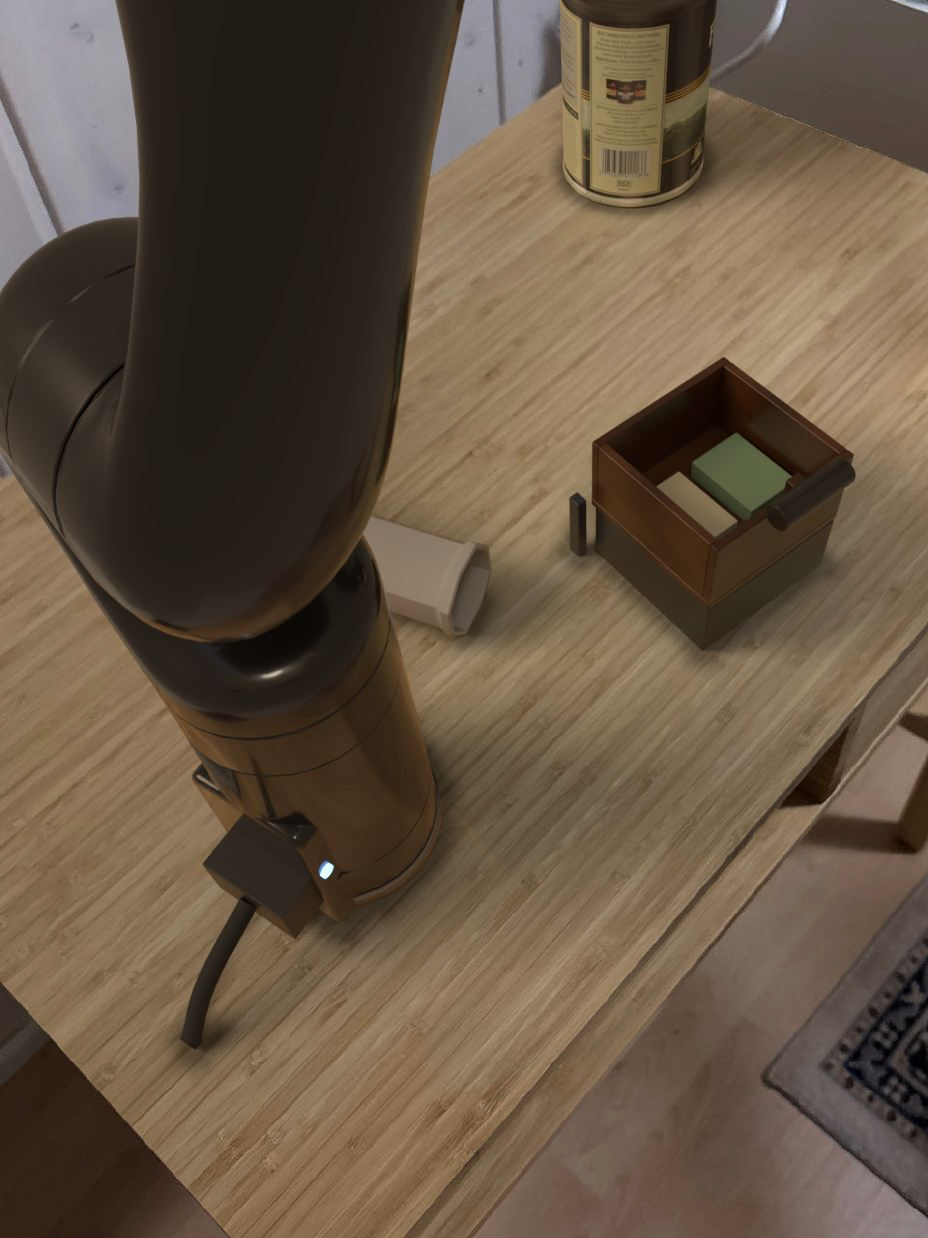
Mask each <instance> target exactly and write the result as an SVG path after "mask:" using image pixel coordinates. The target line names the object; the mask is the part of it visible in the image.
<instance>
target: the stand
mask: <svg viewBox="0 0 928 1238" xmlns="http://www.w3.org/2000/svg"><path fill="white" fill-rule="evenodd" d="M568 507H569V508H568V509H569V511H568V512H569V548H570V550H571V551H572V552H573V553H574V554H575V555H576V556H577V557H580V556H583V554H585V553H586V552H587V550H588V549H587V548H588V547H587V545H588V543H587V541H588V540H587V499H586V498H584V497H583V496H582V494H580V493H579V492H575V493H573V494H572V495H571V496H569V498H568ZM833 524H834V519H833V520H832V521H831V522H829V523H828V524H827V525H825V526H824V527H822V528H821V529H820V530H818V531H817V532H816V533H814V534H813V535H811V536H810V537H809V538H807V539H806V540H805V541H803V542H802V543H800V544H799V545H798V546H796V547H795V548H794V549H792V550H791V551H789V552H788V553H787V554H785V555H784V556H783V557H781V558H780V559H778V560H777V561H776V562H774V563H773V564H771V565H770V566H769V567H767V568H766V569H765V570H763V571H762V572H760V573H759V574H758V575H756V576H755V577H754V578H752V579H751V580H749V581H748V582H747V583H745V584H744V585H743V586H741V587H740V588H738V589H737V590H736V591H734V592H733V593H732V594H730V595H729V596H727V597H726V598H725V599H723V600H722V601H721V602H719V603H718V604H716V605H715V606H714V607H712V608H711V609H710V610H707V609H706V608H705V607H704V606H703V605H702V604H701V603H700V602H699V601H697V600H696V599H695V598H694V597H693V596H692V595H691V594H690V593H689V592H688V591H686V590H685V589H684V588H683V587H682V586H681V585H680V584H679V583H678V582H677V581H675V580H674V579H673V578H672V577H671V576H670V575H669V574H668V573H667V572H666V571H665V570H663V569H662V568H661V567H660V566H659V565H658V564H657V563H656V562H655V561H654V560H652V559H651V558H650V557H649V556H648V555H647V554H646V553H645V552H644V551H643V550H641V549H640V548H639V547H638V546H637V545H636V544H635V543H634V542H633V541H632V540H630V539H629V538H628V537H627V536H626V535H625V534H624V533H623V532H622V531H621V530H619V529H618V528H617V527H616V526H615V525H614V524H613V523H612V522H611V521H610V520H609V519H607V518H606V517H605V516H604V515H603V514H602V513H601V512H600V511H599V510H598V509H596V508H595V533H594V535H595V538H594V539H595V540H594V542H595V543H594V544H595V545H594V546H595V548H594V549H595V551H596V552H597V553H598V554H599V555H600V556H601V557H602V558H603V559H604V560H605V561H606V562H608V563H609V564H610V565H611V567H613V569H615V570H616V571H617V572H618V573H619V574H620V575H621V576H622V577H623V578H624V579H626V580H627V581H628V582H629V583H630V584H631V585H632V586H633V587H634V588H635V589H636V590H638V591H639V593H640V594H642V595H643V596H644V597H645V598H646V599H647V600H648V602H651V604H653V606H655V607H656V609H658V610H659V611H660V612H661V613H662V614H663V615H664V616H665V617H666V618H667V619H668V620H669V621H670V622H672V623H673V625H675V626H676V627H677V628H678V629H679V630H680V631H681V632H682V633H683V634H684V635H685V636H686V637H688V638H689V640H691V641H692V643H694V644H695V645H696V646H697V647H698V648H700V650H701V651H705V650H706V649H708V648H709V647H711V646H712V645H714V644H715V643H716V642H717V641H719V640H720V639H721V638H723V637H724V636H725V635H727V634H728V633H730V631H732V630H734V629H735V628H736V627H738V626H739V625H740V624H742V623H743V622H744V621H747V619H748V618H750V617H751V616H753V615H754V614H755V613H757V612H758V611H759V610H761V609H762V608H764V606H767V604H770V602H771V601H773V600H774V599H775V598H777V597H779V595H781V594H783V593H784V592H785V591H786V590H788V589H790V588H791V587H792V586H794V585H795V584H797V582H799V581H801V580H802V579H803V578H804V577H805V576H807V575H808V574H809V573H811V572H813V570H815V569H816V568H818V567H819V566H820V565H821V564H822V562H823V559H824V555H825V552H826V549H827V545H828V541H829V538H830V535H831V531H832V528H833Z"/></svg>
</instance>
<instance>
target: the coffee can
mask: <svg viewBox="0 0 928 1238" xmlns="http://www.w3.org/2000/svg"><path fill="white" fill-rule="evenodd" d="M717 5H718V0H559V21H560V22H559V25H560V29H559V31H560V62H561V65H560V66H561V98H562V99H561V100H562V101H561V104H562V140H563V142H562V143H563V145H562V146H563V158H562V171H563V175H564V178H565V180H566V182H567V183H568V184H569V185H570V186H571V188H572V189H573V190H575V191H576V193H578V194H580V195H581V196H583V197H585V198H586V199H588V200H591V201H593V202H595V203H598V204H601V205H606V206H613V207H619V208H638V207H647V206H654V205H658V204H661V203H663V202H666V201H669V200H673V199H674V198H676V197H678V196H680V195H681V194H684V192H686V191H687V190H688V189H690V188H691V187H692V186H693V185H694V184H695V183H696V182H697V181H698V179H699V177H700V175H701V174H702V171H703V169H704V162H705V161H704V151H705V150H704V149H705V136H706V124H707V112H708V100H709V89H710V80H711V79H710V78H711V69H712V68H711V67H712V57H713V47H714V39H715V38H714V37H715V36H714V35H715V26H716V15H717Z"/></svg>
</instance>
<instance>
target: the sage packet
mask: <svg viewBox="0 0 928 1238" xmlns="http://www.w3.org/2000/svg"><path fill="white" fill-rule="evenodd" d="M691 477H692V478H693V479H694V480H695V481H696V482H698V483H699V484H700V485H701V486H702V487H704V488H705V489H706V490H707V491H708V492H710V493H711V494H712V495H713V496H714V497H715V498H717V499H718V500H719V501H720V502H721V503H723V504H724V505H725V506H726V507H727V508H729V509H730V510H731V511H732V512H733V513H735V514H736V515H737V516H738V517H739V518H741V519H742V520H743V521H746V520H747V519H749V518H750V517H752V516H753V515H754V514H756V513H757V512H759V511H760V510H761V509H763V508H764V507H766V506H767V505H769V504H770V503H771V502H773V501H774V500H776V499H777V498H778V497H780V496H781V495H783V492H784V488H785V484H786V480H788V479H789V478H791V477H792V476H791V475H790V474H788V473H787V472H786V471H785V470H783V469H782V468H781V467H779V466H778V465H777V464H776V463H774V462H773V461H772V460H771V459H769V458H768V457H767V456H766V455H764V454H763V453H762V452H760V451H759V450H758V449H757V448H755V447H754V446H753V445H752V444H750V443H749V442H748V441H747V440H745V439H744V438H743V437H742V436H740V435H739V434H738V433H735V434H733V435H732V436H730V437H729V438H727V439H726V440H724V441H723V442H721V443H720V444H718V445H717V446H715V447H714V448H712V449H711V450H709V451H708V452H706V453H705V454H704V455H702V456H701V457H699V458H698V459H696V460H695V461H693V462H692V468H691Z"/></svg>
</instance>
